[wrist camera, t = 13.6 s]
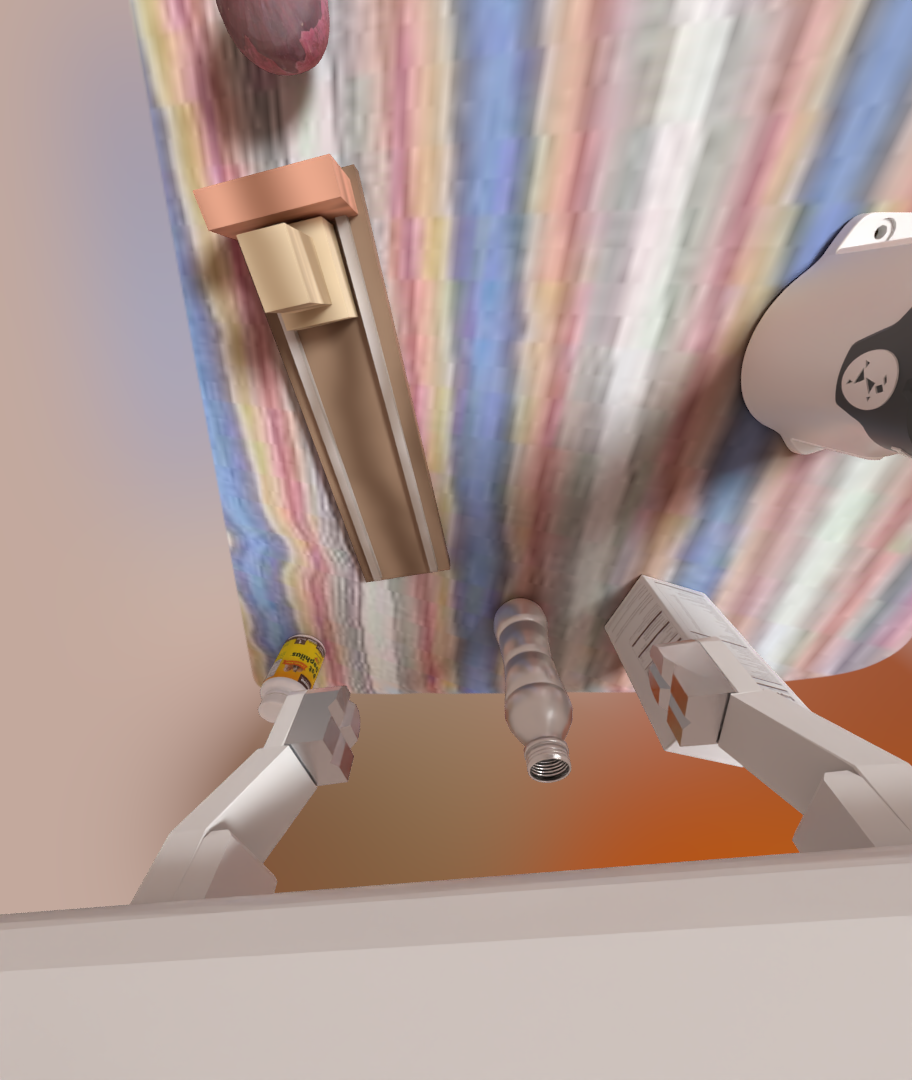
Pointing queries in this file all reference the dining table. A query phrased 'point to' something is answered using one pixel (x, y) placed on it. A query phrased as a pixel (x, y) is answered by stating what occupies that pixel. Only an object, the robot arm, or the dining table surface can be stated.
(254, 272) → the block
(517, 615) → the plastic bottle
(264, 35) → the vegetable
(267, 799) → the robot arm
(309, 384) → the rail board
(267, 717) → the supplement bottle
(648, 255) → the dining table surface
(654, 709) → the supplement box
